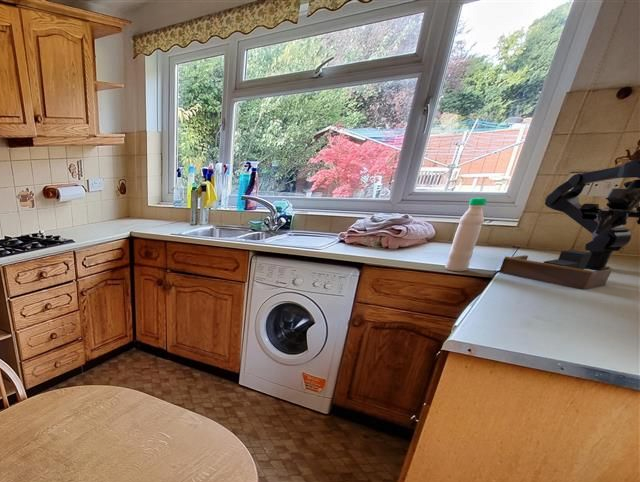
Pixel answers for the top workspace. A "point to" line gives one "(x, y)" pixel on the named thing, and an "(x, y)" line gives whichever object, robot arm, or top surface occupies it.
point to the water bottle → (466, 236)
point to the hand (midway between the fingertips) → (597, 233)
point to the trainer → (572, 259)
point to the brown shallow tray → (554, 273)
